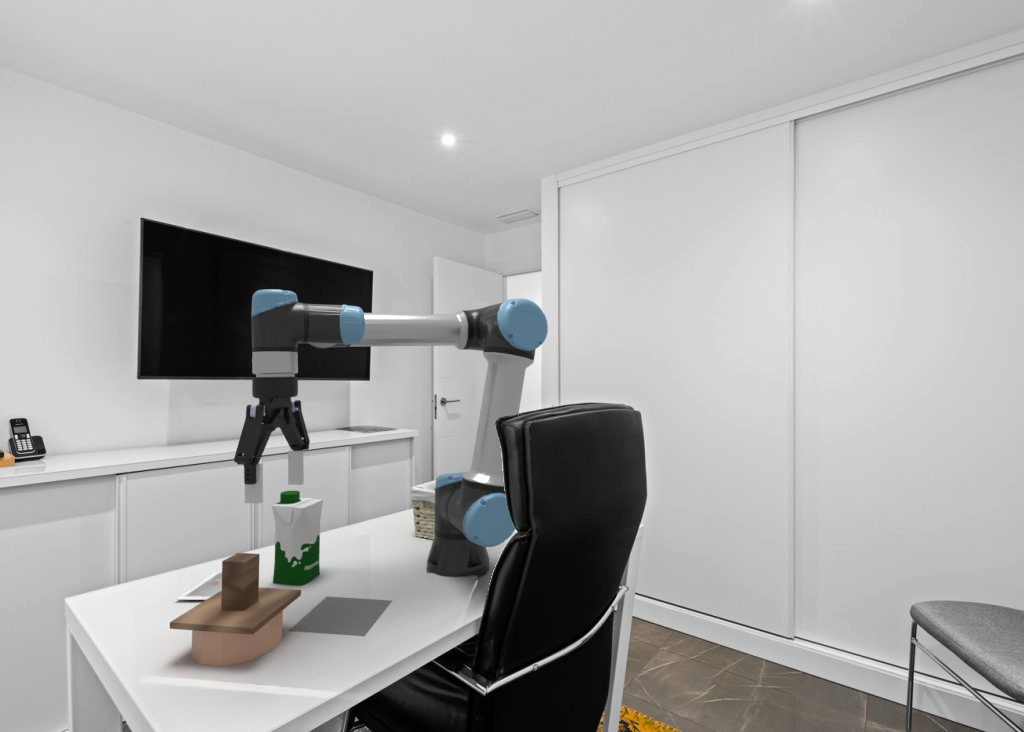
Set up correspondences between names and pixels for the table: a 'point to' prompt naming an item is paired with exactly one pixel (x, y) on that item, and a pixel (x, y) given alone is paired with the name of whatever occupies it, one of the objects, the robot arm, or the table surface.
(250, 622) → the cover board
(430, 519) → the storage basket
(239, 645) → the bowl
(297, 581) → the milk carton
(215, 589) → the touchpad
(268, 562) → the table surface
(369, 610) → the mat
